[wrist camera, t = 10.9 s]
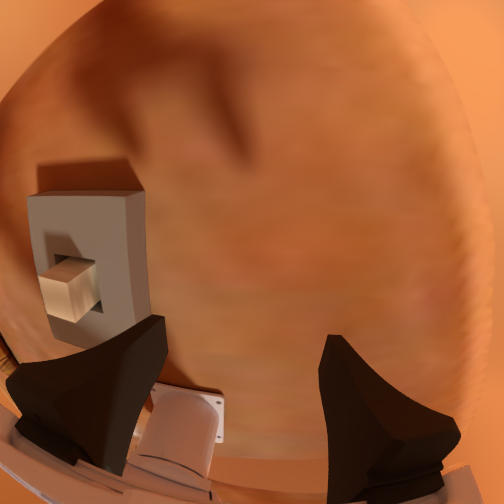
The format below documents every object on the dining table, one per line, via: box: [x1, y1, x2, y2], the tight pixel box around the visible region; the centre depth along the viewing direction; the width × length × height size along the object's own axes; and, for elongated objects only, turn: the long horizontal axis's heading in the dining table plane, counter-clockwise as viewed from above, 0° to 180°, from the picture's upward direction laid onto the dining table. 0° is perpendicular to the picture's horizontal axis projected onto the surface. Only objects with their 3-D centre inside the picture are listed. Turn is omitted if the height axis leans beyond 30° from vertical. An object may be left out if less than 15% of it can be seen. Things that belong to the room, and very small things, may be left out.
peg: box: [38, 256, 101, 323], centre depth 19 cm, size 3×3×6 cm
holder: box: [27, 190, 151, 349], centre depth 20 cm, size 14×11×3 cm
